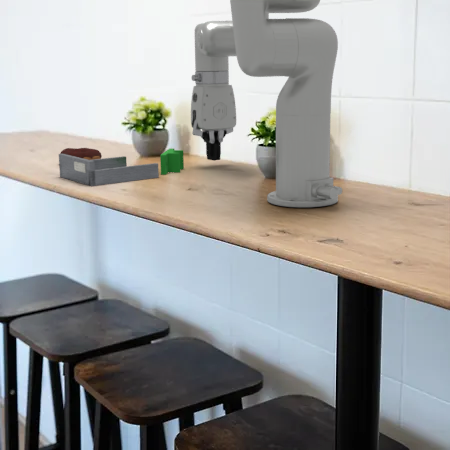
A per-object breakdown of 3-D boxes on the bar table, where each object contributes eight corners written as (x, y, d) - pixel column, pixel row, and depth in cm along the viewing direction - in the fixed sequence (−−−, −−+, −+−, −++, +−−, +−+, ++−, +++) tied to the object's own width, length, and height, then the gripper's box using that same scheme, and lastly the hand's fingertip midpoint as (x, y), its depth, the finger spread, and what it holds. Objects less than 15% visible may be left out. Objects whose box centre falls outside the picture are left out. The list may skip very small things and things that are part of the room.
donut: (106, 166, 185) (105, 149, 184) (64, 169, 181) (63, 152, 180) (97, 160, 194) (96, 145, 193) (57, 163, 190) (56, 147, 189)
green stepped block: (177, 175, 170) (177, 155, 169) (160, 175, 170) (160, 155, 169) (185, 167, 181) (185, 147, 180) (170, 167, 181) (169, 147, 180)
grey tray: (158, 177, 166) (157, 154, 165) (90, 186, 157) (88, 161, 156) (124, 169, 178) (123, 147, 177) (59, 176, 169) (57, 154, 168)
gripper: (193, 81, 168) (195, 164, 173) (248, 78, 177) (249, 158, 181) (175, 80, 174) (177, 161, 178) (229, 77, 183) (230, 155, 187)
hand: (213, 159), depth 180 cm, fingers closed
